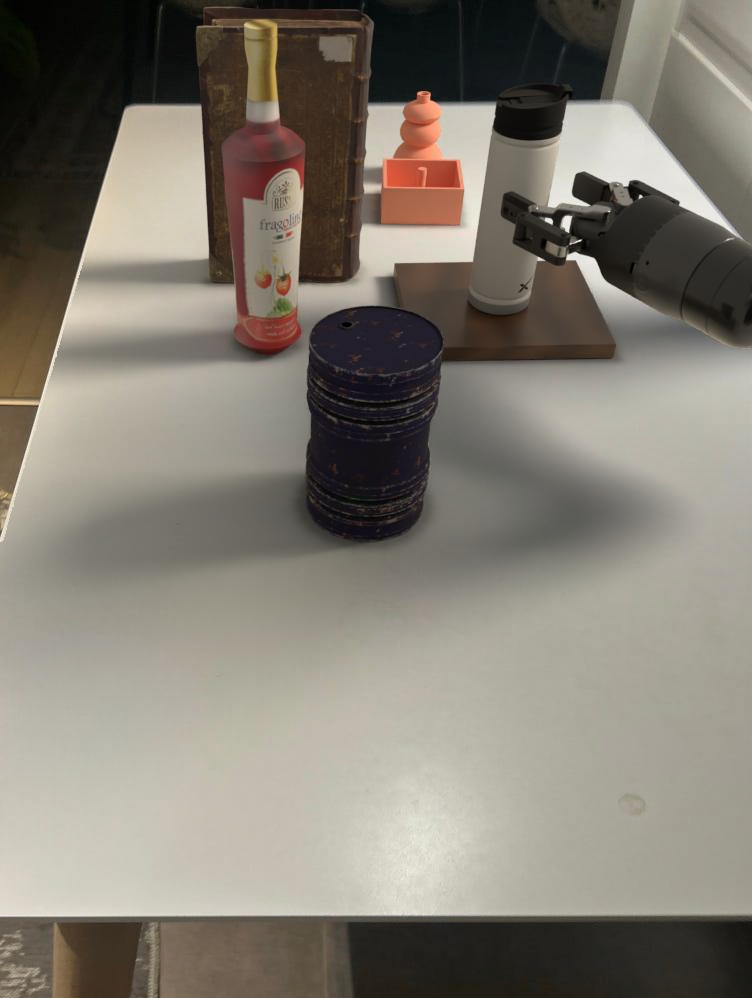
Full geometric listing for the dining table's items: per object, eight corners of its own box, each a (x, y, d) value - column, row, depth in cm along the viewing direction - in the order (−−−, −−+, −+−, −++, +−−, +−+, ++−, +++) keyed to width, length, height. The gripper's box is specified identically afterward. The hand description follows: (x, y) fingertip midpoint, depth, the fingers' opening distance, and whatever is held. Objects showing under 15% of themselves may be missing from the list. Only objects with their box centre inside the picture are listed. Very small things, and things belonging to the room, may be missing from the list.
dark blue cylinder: (449, 503, 79) (474, 338, 68) (369, 560, 74) (383, 392, 63) (359, 453, 84) (369, 291, 73) (280, 503, 79) (278, 338, 68)
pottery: (459, 225, 115) (471, 137, 108) (381, 223, 115) (387, 137, 108) (452, 166, 127) (461, 85, 120) (380, 165, 128) (386, 84, 120)
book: (362, 262, 108) (376, 6, 90) (357, 292, 104) (371, 28, 85) (218, 255, 110) (203, 2, 92) (206, 284, 105) (188, 24, 87)
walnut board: (573, 272, 106) (576, 259, 105) (613, 358, 94) (617, 344, 93) (393, 275, 106) (394, 262, 105) (409, 361, 94) (411, 347, 93)
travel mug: (537, 315, 97) (581, 99, 82) (472, 316, 97) (504, 100, 82) (525, 286, 101) (565, 75, 86) (463, 287, 101) (492, 77, 86)
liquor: (257, 369, 93) (246, 43, 73) (218, 338, 97) (198, 21, 77) (318, 347, 96) (324, 26, 75) (277, 317, 100) (273, 6, 80)
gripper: (748, 195, 78) (607, 134, 88) (618, 235, 73) (485, 166, 83) (718, 282, 84) (589, 215, 93) (596, 325, 79) (473, 250, 89)
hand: (540, 192), depth 88 cm, fingers open, 8 cm apart
